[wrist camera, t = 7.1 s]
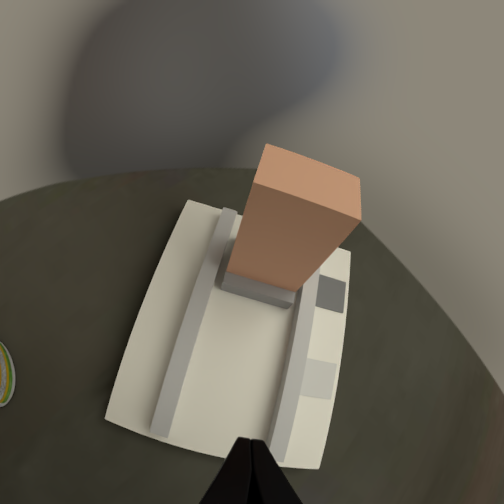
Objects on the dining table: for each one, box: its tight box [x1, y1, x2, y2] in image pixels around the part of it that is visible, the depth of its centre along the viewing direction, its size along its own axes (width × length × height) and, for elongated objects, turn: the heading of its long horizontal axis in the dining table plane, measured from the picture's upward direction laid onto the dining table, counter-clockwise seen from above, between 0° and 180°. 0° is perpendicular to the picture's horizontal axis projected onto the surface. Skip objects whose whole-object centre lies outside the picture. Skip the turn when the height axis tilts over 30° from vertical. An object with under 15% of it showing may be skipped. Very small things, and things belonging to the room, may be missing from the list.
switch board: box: [105, 200, 351, 469], centre depth 17 cm, size 16×13×2 cm
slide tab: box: [221, 144, 361, 309], centre depth 15 cm, size 4×4×9 cm
